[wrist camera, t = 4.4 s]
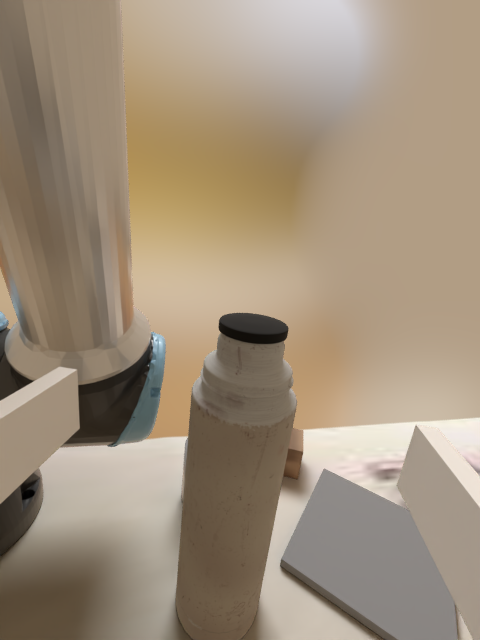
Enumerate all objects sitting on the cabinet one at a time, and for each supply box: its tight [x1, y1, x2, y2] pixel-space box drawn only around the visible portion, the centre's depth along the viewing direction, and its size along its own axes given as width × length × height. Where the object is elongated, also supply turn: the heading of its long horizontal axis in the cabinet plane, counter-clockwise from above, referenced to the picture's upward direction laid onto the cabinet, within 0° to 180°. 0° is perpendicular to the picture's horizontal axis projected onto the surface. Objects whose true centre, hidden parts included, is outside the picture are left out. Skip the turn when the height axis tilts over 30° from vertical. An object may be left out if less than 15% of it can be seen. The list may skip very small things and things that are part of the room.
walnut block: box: [283, 428, 303, 479], centre depth 45 cm, size 5×5×5 cm
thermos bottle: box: [176, 313, 297, 640], centre depth 25 cm, size 8×8×28 cm
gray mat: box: [280, 469, 458, 640], centre depth 34 cm, size 16×16×1 cm
